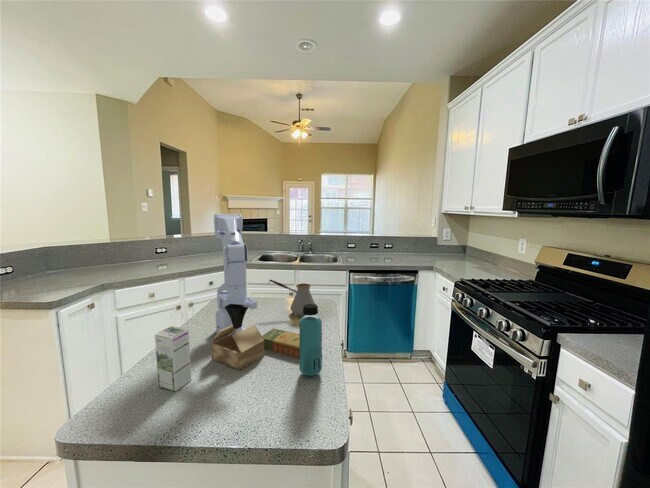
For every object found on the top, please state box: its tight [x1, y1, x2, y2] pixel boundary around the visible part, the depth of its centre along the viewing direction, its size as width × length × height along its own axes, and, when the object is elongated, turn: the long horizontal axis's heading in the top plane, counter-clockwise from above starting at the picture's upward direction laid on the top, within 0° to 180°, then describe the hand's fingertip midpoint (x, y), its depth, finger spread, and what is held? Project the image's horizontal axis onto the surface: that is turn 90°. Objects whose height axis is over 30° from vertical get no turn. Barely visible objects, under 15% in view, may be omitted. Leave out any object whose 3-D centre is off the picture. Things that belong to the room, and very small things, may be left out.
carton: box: [261, 328, 300, 359], centre depth 95 cm, size 8×16×4 cm, turn 64°
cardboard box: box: [210, 332, 265, 372], centre depth 88 cm, size 12×10×5 cm
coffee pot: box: [267, 279, 316, 318], centre depth 126 cm, size 21×12×15 cm, turn 84°
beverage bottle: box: [298, 303, 323, 377], centre depth 79 cm, size 6×7×20 cm
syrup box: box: [154, 325, 192, 392], centre depth 74 cm, size 6×6×14 cm
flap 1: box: [211, 325, 237, 344], centre depth 90 cm, size 6×9×1 cm
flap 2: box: [232, 324, 264, 353], centre depth 85 cm, size 6×9×1 cm
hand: (237, 327), depth 87 cm, fingers closed
